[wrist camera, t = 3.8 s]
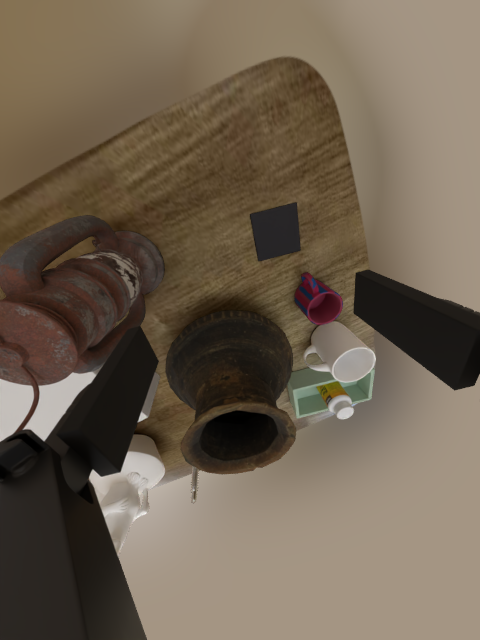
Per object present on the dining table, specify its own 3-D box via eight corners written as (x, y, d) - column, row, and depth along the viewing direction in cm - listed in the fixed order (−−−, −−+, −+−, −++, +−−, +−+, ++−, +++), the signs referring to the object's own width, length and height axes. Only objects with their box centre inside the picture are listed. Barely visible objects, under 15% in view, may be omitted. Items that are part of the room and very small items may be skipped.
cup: (299, 314, 46) (312, 330, 40) (285, 273, 42) (297, 284, 36) (328, 301, 46) (345, 315, 40) (317, 258, 41) (335, 267, 35)
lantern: (144, 206, 34) (-526, 218, 3) (177, 299, 42) (84, 563, 11) (75, 220, 33) (-1375, 388, 3) (122, 311, 41) (-132, 614, 11)
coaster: (295, 202, 36) (296, 202, 36) (299, 250, 40) (300, 250, 39) (249, 214, 36) (250, 214, 36) (258, 260, 40) (258, 261, 40)
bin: (360, 354, 54) (374, 369, 49) (358, 383, 59) (371, 399, 55) (285, 373, 54) (292, 390, 49) (290, 401, 59) (296, 418, 55)
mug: (291, 334, 49) (310, 364, 39) (342, 314, 48) (374, 340, 38) (300, 360, 53) (319, 394, 43) (347, 342, 52) (377, 373, 42)
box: (-78, 365, 42) (-164, 412, 32) (58, 277, 37) (6, 302, 28) (47, 435, 55) (12, 484, 45) (160, 376, 50) (148, 417, 40)
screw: (203, 445, 64) (205, 455, 67) (187, 447, 64) (189, 457, 66) (202, 497, 53) (204, 506, 55) (182, 500, 52) (185, 509, 55)
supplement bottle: (315, 373, 55) (335, 406, 46) (336, 371, 55) (360, 403, 46) (313, 389, 57) (331, 423, 49) (332, 386, 58) (355, 419, 49)
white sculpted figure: (180, 451, 64) (155, 642, 36) (113, 471, 65) (39, 672, 37) (151, 415, 56) (90, 629, 28) (74, 439, 57) (-60, 669, 29)
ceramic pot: (187, 393, 53) (173, 502, 34) (158, 305, 42) (111, 395, 22) (282, 376, 55) (323, 472, 35) (280, 286, 43) (339, 356, 23)
